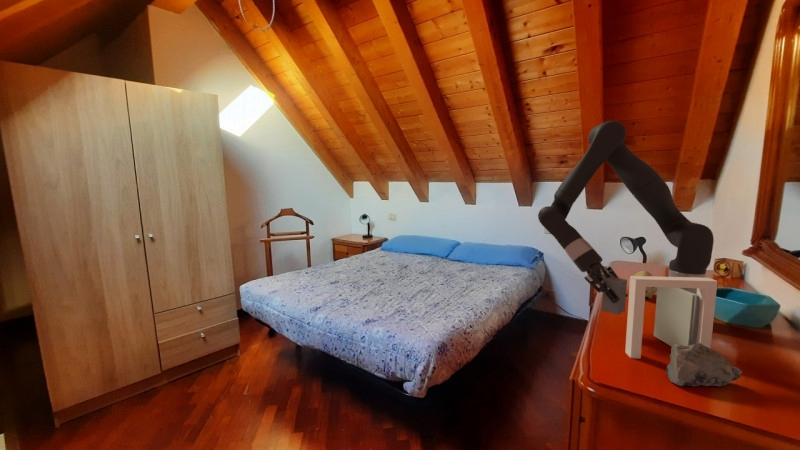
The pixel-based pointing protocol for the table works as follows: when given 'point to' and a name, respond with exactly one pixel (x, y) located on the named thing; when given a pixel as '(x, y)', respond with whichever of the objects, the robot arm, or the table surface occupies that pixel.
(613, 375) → the table surface
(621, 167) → the robot arm
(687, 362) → the mineral rock
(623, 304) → the block
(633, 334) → the door frame
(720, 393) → the table surface
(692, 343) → the door
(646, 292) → the toy pig
